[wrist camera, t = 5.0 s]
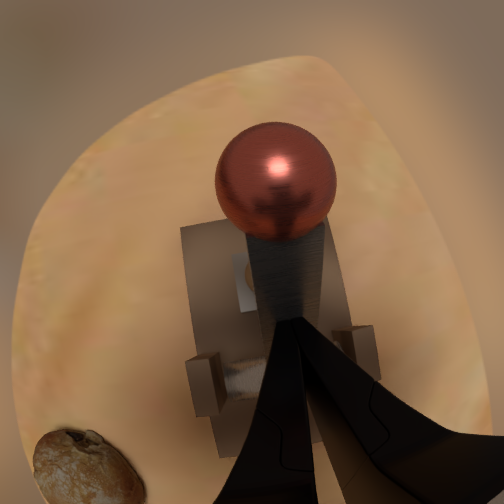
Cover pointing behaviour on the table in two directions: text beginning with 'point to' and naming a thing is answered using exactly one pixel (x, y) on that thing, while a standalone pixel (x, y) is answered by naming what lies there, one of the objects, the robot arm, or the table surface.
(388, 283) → the table surface
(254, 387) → the lever
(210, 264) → the base
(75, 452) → the bread roll
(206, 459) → the table surface
